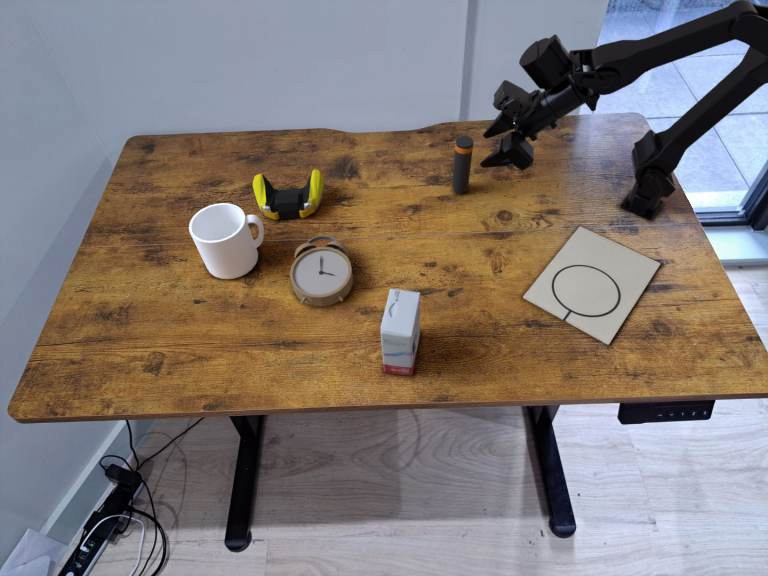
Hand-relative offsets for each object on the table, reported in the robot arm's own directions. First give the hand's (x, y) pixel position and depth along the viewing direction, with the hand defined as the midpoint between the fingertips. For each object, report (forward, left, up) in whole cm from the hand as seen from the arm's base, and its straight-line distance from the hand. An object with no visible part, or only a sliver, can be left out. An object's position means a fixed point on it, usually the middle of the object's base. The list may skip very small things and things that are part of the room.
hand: (482, 150), depth 100 cm
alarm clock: (+37, -10, -11) cm, 40 cm away
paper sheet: (+8, +30, -10) cm, 32 cm away
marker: (+2, -3, -10) cm, 11 cm away
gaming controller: (+27, -29, -11) cm, 41 cm away
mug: (+44, -26, -11) cm, 52 cm away
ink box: (+41, +12, -11) cm, 44 cm away
